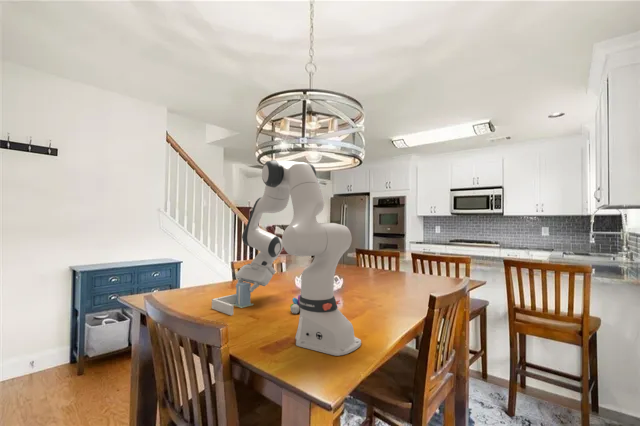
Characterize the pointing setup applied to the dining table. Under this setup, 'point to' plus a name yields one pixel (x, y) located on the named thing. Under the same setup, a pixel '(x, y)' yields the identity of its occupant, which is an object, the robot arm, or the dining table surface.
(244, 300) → the block
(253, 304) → the pad
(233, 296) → the back wall
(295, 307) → the colourful small cluster
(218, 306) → the side wall
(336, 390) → the dining table surface
